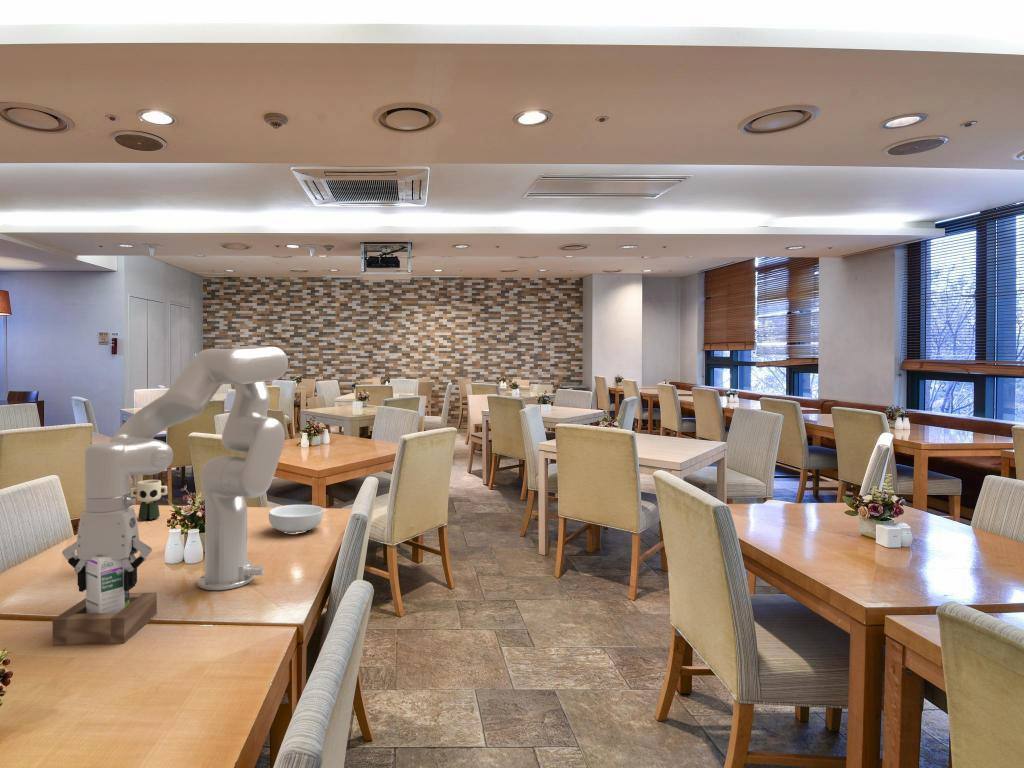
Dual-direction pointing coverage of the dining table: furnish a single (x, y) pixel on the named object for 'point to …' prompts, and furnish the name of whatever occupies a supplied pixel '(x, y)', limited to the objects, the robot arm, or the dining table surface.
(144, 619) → the socket
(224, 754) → the dining table surface
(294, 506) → the cereal bowl
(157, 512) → the character mug
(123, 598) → the syrup box
